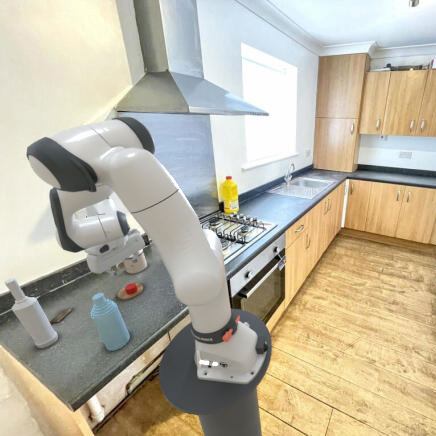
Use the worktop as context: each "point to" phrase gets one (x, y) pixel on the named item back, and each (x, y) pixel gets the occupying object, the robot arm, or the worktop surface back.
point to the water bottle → (109, 322)
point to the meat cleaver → (60, 315)
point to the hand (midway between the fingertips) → (125, 268)
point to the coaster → (124, 295)
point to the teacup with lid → (134, 267)
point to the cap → (131, 288)
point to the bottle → (32, 316)
